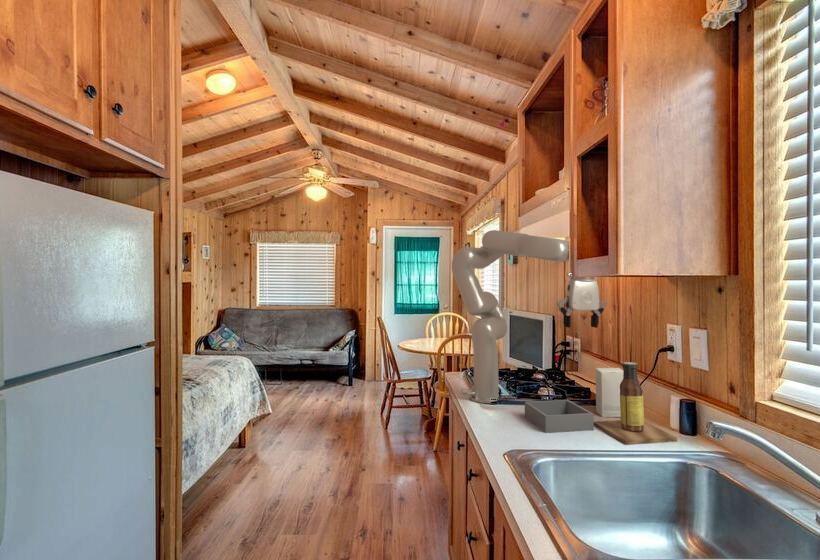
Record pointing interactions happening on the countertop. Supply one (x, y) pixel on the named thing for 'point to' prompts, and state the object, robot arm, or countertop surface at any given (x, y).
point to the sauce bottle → (631, 399)
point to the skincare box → (608, 391)
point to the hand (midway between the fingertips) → (580, 327)
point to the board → (634, 433)
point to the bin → (559, 416)
